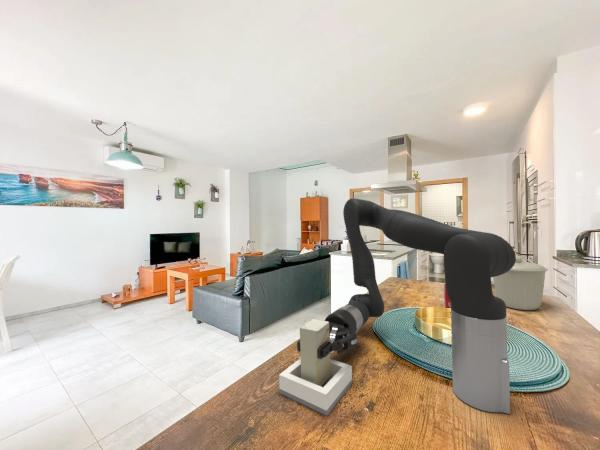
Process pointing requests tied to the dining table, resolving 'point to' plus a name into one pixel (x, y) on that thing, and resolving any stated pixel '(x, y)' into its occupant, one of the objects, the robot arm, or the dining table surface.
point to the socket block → (316, 386)
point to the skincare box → (314, 352)
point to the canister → (521, 285)
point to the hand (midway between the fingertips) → (308, 350)
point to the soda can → (446, 298)
